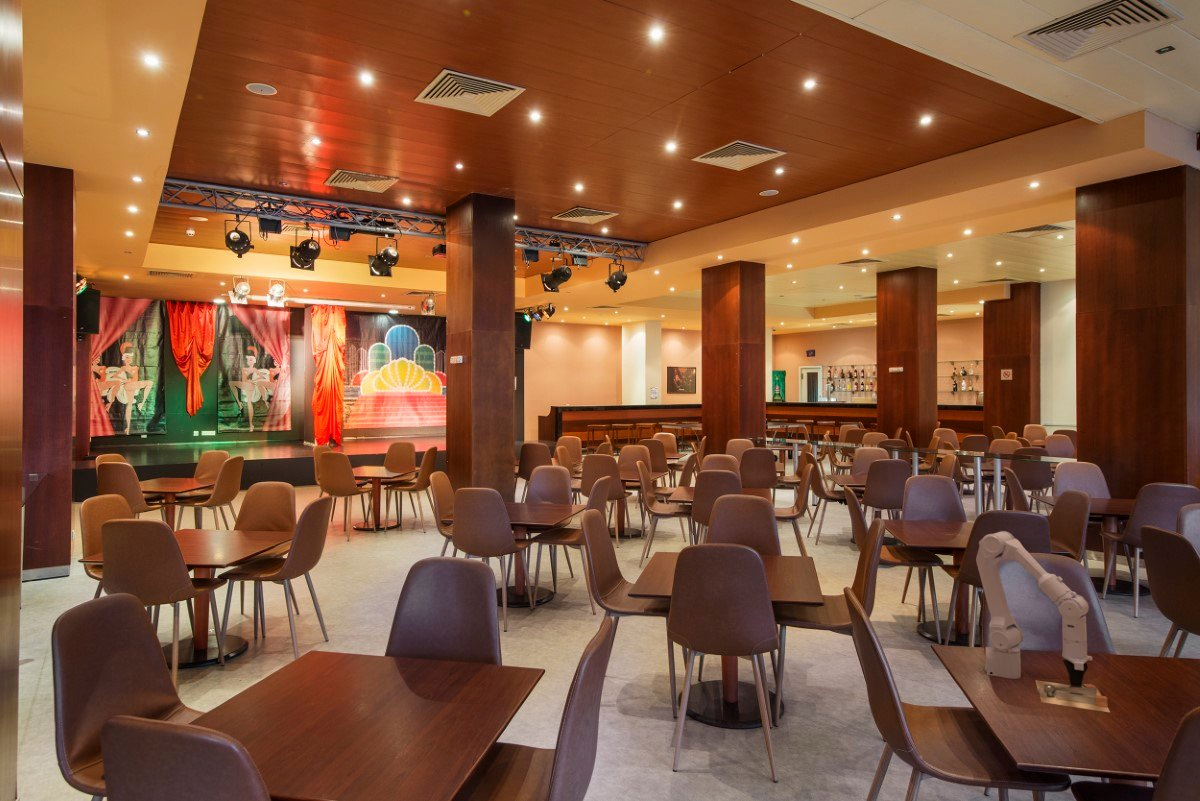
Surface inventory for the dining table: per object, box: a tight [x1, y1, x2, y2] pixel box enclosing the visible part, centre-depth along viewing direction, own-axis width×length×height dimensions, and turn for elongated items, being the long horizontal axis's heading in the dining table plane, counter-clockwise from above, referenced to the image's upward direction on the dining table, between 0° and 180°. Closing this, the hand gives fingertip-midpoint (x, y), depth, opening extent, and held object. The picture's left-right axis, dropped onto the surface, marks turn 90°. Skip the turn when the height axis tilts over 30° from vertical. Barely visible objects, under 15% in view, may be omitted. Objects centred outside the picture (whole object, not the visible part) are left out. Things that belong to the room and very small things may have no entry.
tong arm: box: [1053, 683, 1097, 695], centre depth 196 cm, size 12×2×2 cm, turn 87°
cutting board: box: [1035, 679, 1111, 713], centre depth 196 cm, size 15×18×1 cm
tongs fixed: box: [1037, 684, 1109, 708], centre depth 193 cm, size 15×4×3 cm, turn 63°
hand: (1075, 687), depth 198 cm, fingers closed
